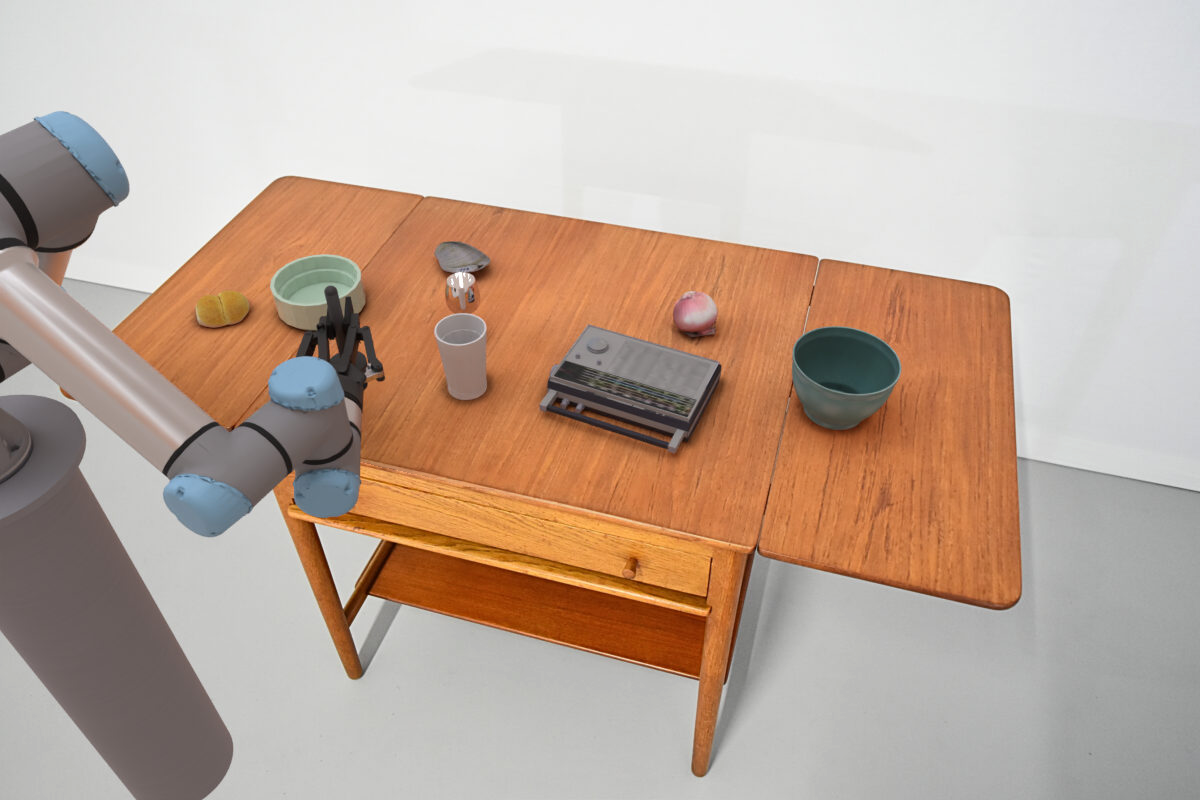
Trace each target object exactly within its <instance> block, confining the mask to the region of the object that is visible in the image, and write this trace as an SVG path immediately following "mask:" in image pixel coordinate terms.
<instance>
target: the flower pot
mask: <svg viewBox="0 0 1200 800" xmlns="http://www.w3.org/2000/svg"><path fill="white" fill-rule="evenodd" d="M791 357H792V358H791V360H792V364H791V378H792V384H793V388H794V391H795V393H796V396H797V398H798V400H799V402H800V403H801V405H802V408H803V412H804V413H805V415H806V417H808V419H809V420H810V421H812V422H813V423H814V424H816V425H818V426H820V427H822V428H825V429H829V430H832V431H833V430H834V431H845V430H850V429H853V428H855V427H857V426H858V425H859V424H861V422H862V421H864V420H866V419H868V418H869V417H871V416H872V415H874V414H875V413H877V411H879V410H880V409H881V408H882V407H883V406H884V405H885V403H886V402H887V401H888V400H889V398H890V396H891V395H892V393H893V390H894V388H895V387H896V385H897V384H898V382H899V380H900V377H901V375H902V362H901V360H900V357H899V355H898V354H897V352H896V351H895V350H894V349H893V348H892V347H891V345H890V344H888V343H887V342H886V341H884V340H883V339H882V338H880V337H878V336H877V335H875V334H872V333H870V332H867V331H864V330H862V329H859V328H855V327H850V326H841V325H834V326H833V325H831V326H829V325H828V326H821V327H817V328H814V329H811V330H808V331H807V332H805V333H803V334H802V335H801V336H799V337H798V339H797V340H796V341H795V343H794V344H793V347H792V355H791Z"/></svg>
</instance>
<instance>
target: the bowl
mask: <svg viewBox="0 0 1200 800" xmlns="http://www.w3.org/2000/svg"><path fill="white" fill-rule="evenodd" d="M362 274H363V273H362V271H361V269H360V267H359V265H358V264H357V263H356V262H354V261H353V260H351V259H350V258H348V257H344V256H341V255H339V254H330V253H329V254H328V253H323V254H312V255H307V256H303V257H299V258H296V259H294V260H292V261H290V262H287V263H286V264H285V265H283V266H282V267H280V268H278V270H277V271H276V272H275V273H274V275H273V276H272V277H271V278H270V284H269V289H270V292H271V295H272V299H273V302H274V305H275V306H274V307H275V309H276V312H277V314H278V318H279V319H280V320H281V321H283V323H285V324H286V325H289V326H290V327H294V328H296V329H298V330H303V331H311V332H316V331H317V327H316V325H317V324H318V323H319V318H320V317H321V316H327V302H326V298H325V294H324V290H325V288H326V287H327V286H330V285H332V286H334V287H336V288H337V291H338V295H339V299H340V304H341V308H342V313H343V317H344V311H345V297H349V296H351V300H352V305H353V309H354V313H358V314H359V313H360V312H361V311H362V310H363V308H364V307H365V305H366V300H367V299H366V298H367V294H366V288H365V285H364V279H363V275H362Z"/></svg>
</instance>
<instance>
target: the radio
mask: <svg viewBox="0 0 1200 800" xmlns="http://www.w3.org/2000/svg"><path fill="white" fill-rule="evenodd" d="M721 375H722V364H721V363H720V361H719V360H715V359H712V358H709V357H705V356H701V355H697V354H694V353H691V352H687V351H684V350H680V349H677V348H673V347H669V346H666V345H663V344H659V343H656V342H652V341H649V340H646V339H641V338H638V337H635V336H631V335H627V334H624V333H621V332H617V331H613V330H611V329H606V328H603V327H599V326H596V325H593V324H587V325H586V326H585V328H584V329H583V330H582V332H581V333H580V334H579V336H578V338H577V339H576V340H575V341H574V343H573V344H572V345H571V347H570V348H569V349H568V350H567V352H566V354H565V355H564V356H563V358H562V359H561V361H560V362H559V363H558V364H556V363H555V364H554V365H553V366H552V367H551V369H550V371H549V376H548V379H547V383H546V395H545V396H544V397H543V399H542V400H541V401H540V403H539V404H538V406H539V407H538V408H539V411H541V412H543V413H548V412H549V413H552V414H555V415H558V416H561V417H565V418H567V419H570V420H574V421H576V422H580V423H583V424H586V425H589V426H591V427H595V428H599V429H601V430H604V431H607V432H611V433H614V434H617V435H620V436H623V437H627V438H630V439H633V440H636V441H640V442H643V443H646V444H648V445H650V446H651V445H652V446H655V447H658V448H660V449H664V450H667V452H669V453H672V454H676V453H677V451H678V449H679V447H680V445H681V444H682V442H684V443H689V441H690V439H691V438H692V435H693V434H694V432H695V430H696V428H697V426H698V424H699V422H700V420H701V419H702V417H703V414H704V412H705V411H706V409H707V407H708V405H709V404H710V401H711V399H712V398H713V395H714V394H715V391H716V389H717V388H718V386H719V384H720V380H721V377H722V376H721ZM555 401H556V402H559V406H556V405H553V404H554V402H555ZM568 406H570V407H574V411H572V410H569V409H566V408H567V407H568ZM583 410H584V411H587V412H590V413H594V414H596V415H599V416H603V417H606V418H609V419H612V420H615V421H619V422H621V423H625V424H628V425H632V426H634V427H637V428H641V429H644V430H648V431H651V432H653V433H656V434H659V435H662V436H666V437H669V438H671V439H670V441H666V440H663V439H660V438H657V437H654V436H650V435H648V434H645V433H641V432H638V431H634V430H632V429H630V428H629V429H628V428H625V427H623V426H619V425H616V424H613V423H610V422H606V421H603V420H601V419H597V418H594V417H591V416H588V415H584V414H582V411H583Z"/></svg>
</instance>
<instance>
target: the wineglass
mask: <svg viewBox="0 0 1200 800" xmlns="http://www.w3.org/2000/svg"><path fill="white" fill-rule="evenodd" d="M444 299H445V304H446V306H447V308H448V309H449V311H450V312H452V313H453V314H458V313H468V314H473V313H474V312H475V311H477V310H478V308H479V306H480V303H481V293H480V289H479V285H478V283H477V280H476V277H475V276H474V275H473V274H471V273H470V272H469V273H465V272H459V273H452V274H450V275H449V276H448V277H447V279H446V282H445V288H444Z"/></svg>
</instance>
